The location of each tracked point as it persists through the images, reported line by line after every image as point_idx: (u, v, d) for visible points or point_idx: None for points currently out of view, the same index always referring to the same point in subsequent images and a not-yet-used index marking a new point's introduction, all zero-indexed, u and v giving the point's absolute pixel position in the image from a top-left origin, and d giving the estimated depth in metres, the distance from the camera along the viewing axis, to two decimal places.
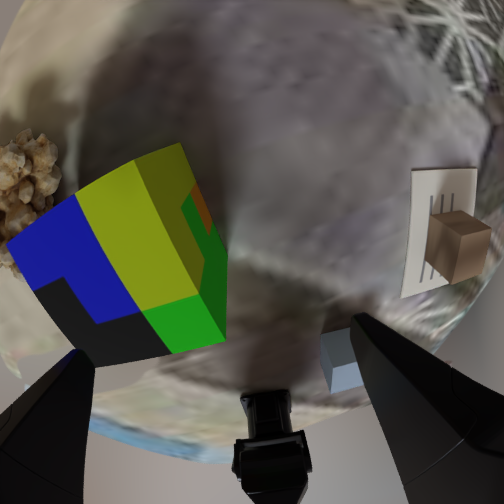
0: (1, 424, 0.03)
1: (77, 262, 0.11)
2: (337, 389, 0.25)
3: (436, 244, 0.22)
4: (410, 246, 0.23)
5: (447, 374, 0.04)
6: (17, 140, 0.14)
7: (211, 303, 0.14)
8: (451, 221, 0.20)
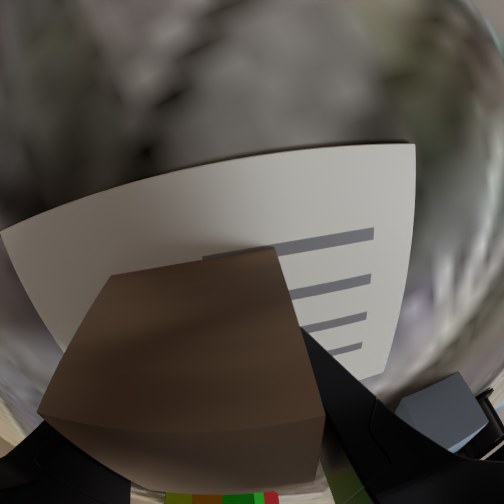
0: (39, 441, 0.03)
1: None
2: (457, 450, 0.10)
3: None
4: None
5: (368, 407, 0.04)
6: None
7: None
8: None
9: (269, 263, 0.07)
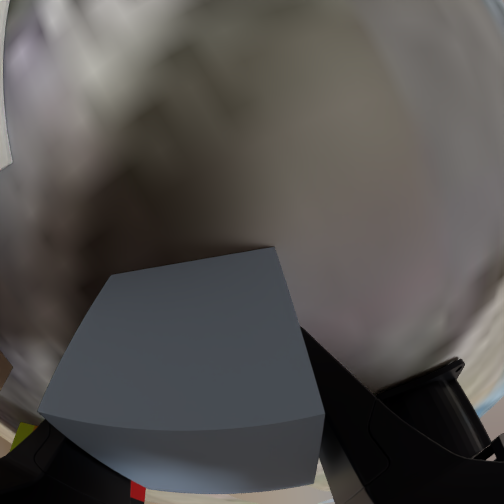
0: (39, 441, 0.03)
1: None
2: (294, 482, 0.05)
3: None
4: None
5: (368, 407, 0.04)
6: None
7: None
8: None
9: None
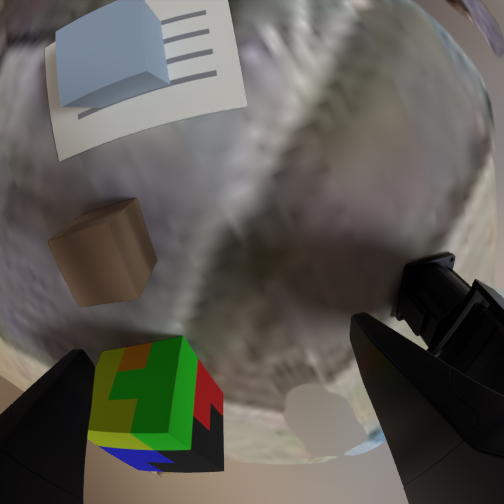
0: (1, 424, 0.03)
1: (133, 456, 0.17)
2: (133, 59, 0.09)
3: None
4: (146, 124, 0.15)
5: (447, 374, 0.04)
6: None
7: (146, 422, 0.15)
8: None
9: (130, 201, 0.17)
